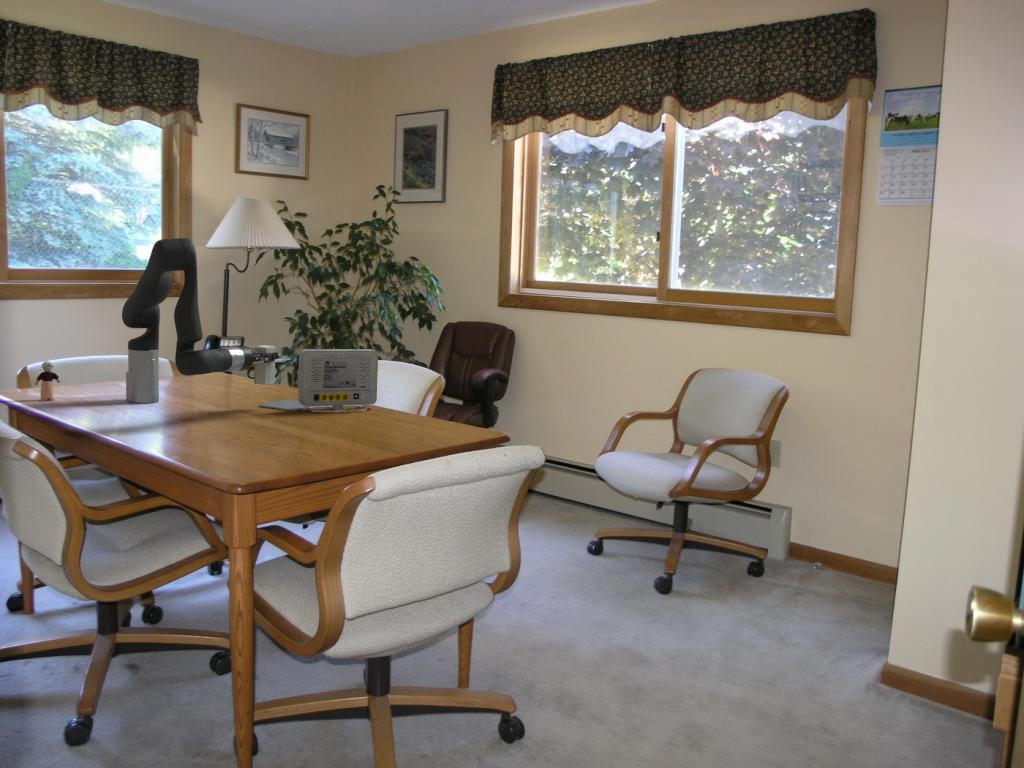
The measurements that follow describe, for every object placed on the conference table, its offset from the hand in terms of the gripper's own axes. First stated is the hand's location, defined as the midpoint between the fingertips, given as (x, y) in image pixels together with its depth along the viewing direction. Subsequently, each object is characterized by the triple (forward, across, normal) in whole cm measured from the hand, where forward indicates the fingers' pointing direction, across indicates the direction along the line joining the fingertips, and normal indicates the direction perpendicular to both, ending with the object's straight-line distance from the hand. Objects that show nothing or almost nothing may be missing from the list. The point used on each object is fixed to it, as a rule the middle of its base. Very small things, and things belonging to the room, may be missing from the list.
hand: (270, 354), depth 286 cm
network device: (+12, -18, +18) cm, 28 cm away
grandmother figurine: (-34, +61, +18) cm, 72 cm away
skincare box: (-3, 0, +9) cm, 10 cm away
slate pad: (+7, -3, +18) cm, 19 cm away
